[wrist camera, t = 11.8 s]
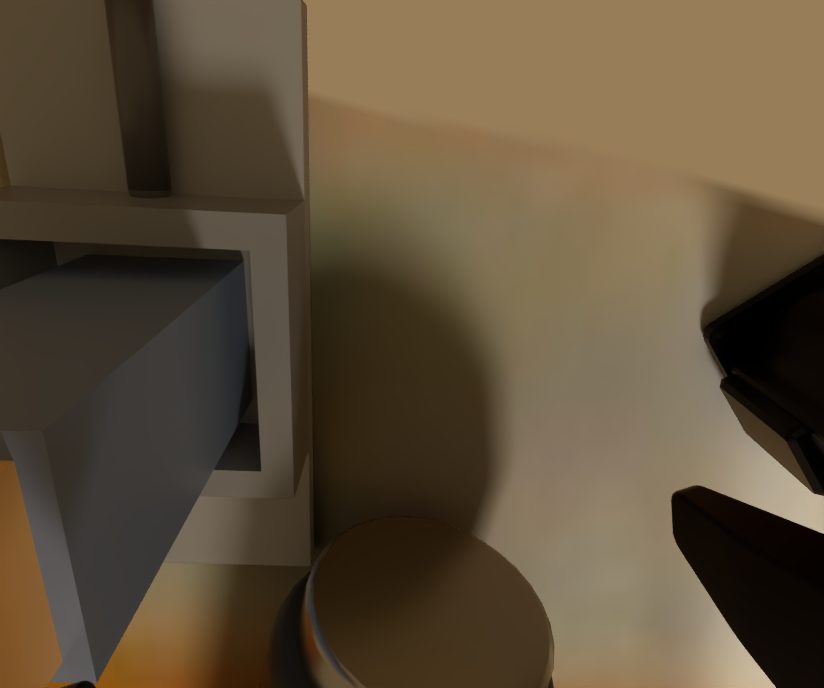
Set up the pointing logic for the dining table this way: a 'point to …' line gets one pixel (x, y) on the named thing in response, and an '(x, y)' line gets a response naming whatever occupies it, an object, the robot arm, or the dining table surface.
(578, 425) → the dining table surface
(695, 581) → the dining table surface
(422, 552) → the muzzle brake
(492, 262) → the dining table surface
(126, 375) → the orange-capped square pillar
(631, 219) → the dining table surface
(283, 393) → the end holder
